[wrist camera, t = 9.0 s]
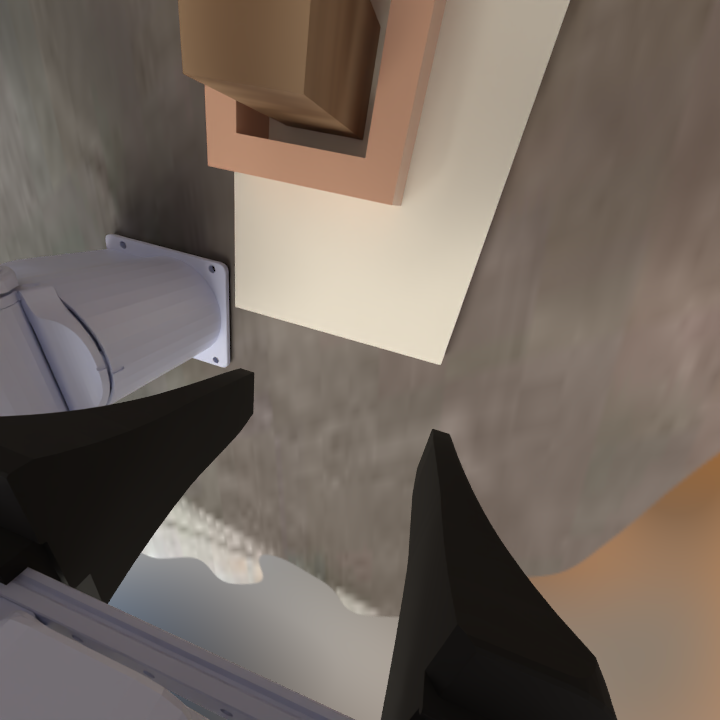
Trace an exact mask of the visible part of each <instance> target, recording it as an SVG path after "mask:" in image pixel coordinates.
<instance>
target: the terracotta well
mask: <svg viewBox="0 0 720 720" xmlns="http://www.w3.org/2000/svg"><path fill="white" fill-rule="evenodd" d="M446 1H447V0H391V4H390V10H389V16H388V22H387V28H386V34H385V41H384V47H383V53H382V59H381V65H380V71H379V78H378V84H377V90H376V96H375V102H374V108H373V114H372V121H371V127H370V133H369V139H368V145H367V151H366V158H361V157H356V156H351V155H346V154H341V153H336V152H331V151H326V150H320V149H315V148H310V147H305V146H300V145H295V144H290V143H285V142H280V141H274V140H269V117H268V116H266V115H264V114H262V113H260V112H258V111H256V110H254V109H252V108H250V107H248V106H246V105H244V104H242V103H240V102H238V101H236V100H234V99H232V98H230V97H228V96H226V95H224V94H222V93H220V92H218V91H216V90H214V89H212V88H210V87H208V86H206V85H205V108H206V132H207V155H208V166H211V167H216V168H220V169H225V170H230V171H234V172H239V173H244V174H248V175H253V176H258V177H262V178H267V179H271V180H276V181H281V182H285V183H290V184H295V185H299V186H304V187H309V188H313V189H318V190H323V191H327V192H332V193H337V194H341V195H346V196H350V197H355V198H360V199H364V200H369V201H374V202H378V203H383V204H388V205H394V206H401V204H402V199H403V195H404V190H405V186H406V181H407V177H408V172H409V168H410V163H411V159H412V154H413V150H414V145H415V141H416V136H417V132H418V127H419V123H420V118H421V114H422V109H423V105H424V100H425V96H426V91H427V87H428V82H429V78H430V73H431V69H432V64H433V60H434V55H435V51H436V46H437V42H438V37H439V33H440V28H441V24H442V19H443V15H444V10H445V6H446Z"/></svg>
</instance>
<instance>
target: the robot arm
mask: <svg viewBox="0 0 720 720" xmlns="http://www.w3.org/2000/svg"><path fill="white" fill-rule="evenodd" d="M125 244H126V245H125ZM106 245H107V249H103V250H95V251H86V252H78V253H70V254H61V255H53V256H44V257H36V258H27V259H19V260H14V261H9V262H6V263H3V264H0V720H209V719H207V718H206V717H204V716H202V715H200V714H199V713H197V712H195V711H194V710H192V709H190V708H188V707H187V706H185V705H184V704H183V703H182V702H181V701H180V700H179V699H178V698H177V697H175V696H174V695H173V694H171V693H170V692H169V691H168V690H170V691H171V692H174V693H175V694H177V695H179V696H182V697H184V698H185V699H187V700H190V701H192V702H194V703H196V704H198V705H200V706H202V707H204V708H206V709H208V710H210V711H212V712H214V713H216V714H218V715H220V716H222V717H224V718H226V719H228V720H355V719H353V718H350V717H348V716H346V715H344V714H342V713H339V712H338V711H335V710H333V709H331V708H329V707H327V706H324V705H323V704H320V703H318V702H316V701H314V700H312V699H310V698H308V697H305V696H303V695H301V694H299V693H297V692H295V691H292V690H290V689H288V688H286V687H284V686H281V685H280V684H277V683H275V682H273V681H271V680H269V679H267V678H265V677H263V676H260V675H258V674H256V673H254V672H252V671H250V670H247V669H245V668H243V667H241V666H239V665H237V664H235V663H233V662H230V661H228V660H226V659H224V658H222V657H220V656H217V655H215V654H213V653H211V652H209V651H207V650H205V649H202V648H200V647H198V646H196V645H194V644H192V643H190V642H187V641H185V640H183V639H181V638H179V637H177V636H175V635H172V634H170V633H168V632H166V631H164V630H162V629H160V628H157V627H155V626H153V625H151V624H149V623H147V622H145V621H142V620H140V619H138V618H136V617H134V616H132V615H130V614H127V613H125V612H123V611H121V610H119V609H117V608H114V607H113V606H110V605H108V602H109V601H110V599H111V598H112V596H113V594H114V593H115V591H116V590H117V588H118V586H119V585H120V584H121V582H122V581H123V579H124V577H125V576H126V574H127V573H128V571H129V570H130V568H131V567H132V565H133V563H134V562H135V561H136V559H137V558H138V556H139V555H140V553H141V552H142V551H143V549H144V548H145V546H146V545H147V543H148V542H149V540H150V539H151V538H152V536H153V535H154V533H155V532H156V530H157V529H158V528H159V526H160V525H161V524H162V522H163V521H164V520H165V518H166V517H167V515H168V514H169V513H170V511H171V510H172V509H173V507H174V506H175V505H176V504H177V502H178V501H179V500H180V498H181V497H182V496H183V495H184V493H185V492H186V491H187V489H188V488H189V487H190V486H191V484H192V483H193V482H194V481H195V480H196V479H197V478H198V476H199V475H200V474H201V473H202V472H203V471H204V470H205V469H206V468H207V467H208V466H209V465H210V464H211V463H212V462H213V460H214V459H215V458H216V457H217V456H218V455H219V454H220V453H221V452H222V451H223V450H224V449H225V448H226V447H227V446H228V445H229V444H230V442H231V441H232V440H233V439H234V438H235V437H236V436H237V435H238V434H239V433H240V431H241V430H242V428H243V427H244V426H245V424H246V423H247V422H248V420H249V419H250V417H251V416H252V414H253V403H254V372H250V371H247V370H244V369H241V368H240V369H236V370H233V371H230V372H226V373H223V374H220V375H217V376H214V377H212V378H209V379H206V380H203V381H200V382H197V383H194V384H191V385H187V386H184V387H181V388H177V389H174V390H171V391H167V392H164V393H160V394H157V395H153V396H149V397H145V398H141V399H136V400H132V401H127V402H122V403H117V404H113V403H115V402H116V401H118V400H120V399H121V398H123V397H125V396H127V395H128V394H130V393H132V392H134V391H135V390H137V389H139V388H141V387H142V386H144V385H146V384H147V383H149V382H151V381H153V380H154V379H156V378H158V377H160V376H161V375H163V374H165V373H167V372H168V371H170V370H172V369H173V368H175V367H177V366H179V365H180V364H182V363H184V362H186V361H187V360H189V359H191V358H195V359H198V360H201V361H204V362H208V363H211V364H214V365H217V366H220V367H226V366H228V365H229V364H230V327H229V271H228V268H227V266H226V265H225V264H224V263H222V262H218V261H215V260H211V259H207V258H203V257H199V256H196V255H192V254H188V253H184V252H180V251H177V250H173V249H169V248H165V247H162V246H158V245H154V244H150V243H146V242H143V241H139V240H135V239H131V238H127V237H124V236H120V235H116V234H108V235H106ZM212 266H214V267H215V271H214V270H213V268H212ZM216 358H218V360H217V359H216ZM381 720H617V718H616V715H615V712H614V708H613V705H612V702H611V699H610V695H609V692H608V689H607V686H606V683H605V680H604V678H603V675H602V673H601V670H600V668H599V665H598V662H597V660H596V657H595V656H594V655H593V654H592V653H591V652H590V650H589V649H588V648H587V647H586V646H585V645H584V644H583V643H582V641H581V640H580V639H579V638H578V637H577V636H576V635H575V634H574V633H573V631H572V630H571V629H570V628H569V627H568V626H567V625H566V624H565V622H564V621H563V620H562V619H561V618H560V617H559V616H558V615H557V614H556V612H555V611H554V610H553V609H552V608H551V606H550V605H549V604H548V603H547V602H546V600H545V599H544V598H543V597H542V595H541V594H540V593H539V592H538V590H537V589H536V588H535V587H534V585H533V584H532V583H531V581H530V580H529V579H528V578H527V576H526V575H525V574H524V572H523V571H522V570H521V568H520V567H519V565H518V564H517V563H516V561H515V560H514V558H513V557H512V556H511V554H510V553H509V551H508V550H507V549H506V547H505V546H504V544H503V543H502V541H501V540H500V538H499V537H498V535H497V533H496V532H495V530H494V529H493V527H492V525H491V524H490V522H489V520H488V518H487V517H486V515H485V513H484V511H483V510H482V508H481V506H480V504H479V502H478V500H477V498H476V496H475V494H474V492H473V490H472V488H471V486H470V484H469V482H468V479H467V477H466V475H465V473H464V470H463V468H462V466H461V463H460V461H459V458H458V456H457V453H456V450H455V448H454V445H453V442H452V439H451V437H450V435H449V434H447V433H444V432H441V431H438V430H435V429H432V431H431V434H430V436H429V439H428V442H427V444H426V447H425V449H424V452H423V455H422V457H421V460H420V462H419V465H418V468H417V472H416V478H415V483H414V489H413V496H412V510H411V525H410V541H409V556H408V565H407V573H406V579H405V586H404V592H403V598H402V605H401V611H400V616H399V622H398V628H397V635H396V640H395V646H394V652H393V657H392V663H391V668H390V674H389V679H388V685H387V690H386V695H385V701H384V706H383V711H382V717H381Z"/></svg>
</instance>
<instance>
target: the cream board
mask: <svg viewBox="0 0 720 720" xmlns="http://www.w3.org/2000/svg"><path fill="white" fill-rule="evenodd" d="M370 1H371V4H372V6H373V9H374V11H375V14H376V16H377V19H378V21H379V24H380V27H381V28H380V35H379V41H378V48H377V54H376V61H375V67H374V73H373V80H372V86H371V93H370V99H369V105H368V112H367V118H366V125H365V131H364V138H363V140H359V139H354V138H349V137H343V136H338V135H333V134H327V133H322V132H317V131H311V130H306V129H301V128H295V127H290V126H286V125H284V124H282V123H280V122H278V121H276V120H274V119H272V118H270V117H269V140H274V141H280V142H285V143H290V144H295V145H300V146H305V147H310V148H315V149H320V150H326V151H331V152H336V153H341V154H346V155H351V156H356V157H361V158H366V151H367V145H368V139H369V133H370V127H371V121H372V114H373V108H374V102H375V96H376V90H377V84H378V78H379V71H380V65H381V59H382V53H383V47H384V41H385V34H386V28H387V22H388V16H389V10H390V4H391V0H370ZM569 2H570V0H447V1H446V6H445V10H444V15H443V19H442V24H441V28H440V33H439V37H438V42H437V46H436V51H435V55H434V60H433V64H432V69H431V73H430V78H429V82H428V87H427V91H426V96H425V100H424V105H423V109H422V114H421V118H420V123H419V127H418V132H417V136H416V141H415V145H414V150H413V154H412V159H411V163H410V168H409V172H408V177H407V181H406V186H405V190H404V195H403V199H402V204H401V206H394V205H388V204H383V203H378V202H374V201H369V200H364V199H360V198H355V197H350V196H346V195H341V194H337V193H332V192H327V191H323V190H318V189H313V188H309V187H304V186H299V185H295V184H290V183H285V182H281V181H276V180H271V179H267V178H262V177H258V176H253V175H248V174H244V173H239V172H234V191H235V307H238V308H242V309H245V310H249V311H252V312H256V313H259V314H263V315H266V316H270V317H273V318H277V319H280V320H284V321H287V322H291V323H294V324H298V325H301V326H305V327H308V328H312V329H315V330H319V331H322V332H326V333H329V334H333V335H337V336H340V337H344V338H347V339H351V340H354V341H358V342H361V343H365V344H368V345H372V346H375V347H379V348H382V349H386V350H389V351H393V352H396V353H400V354H403V355H407V356H410V357H414V358H417V359H421V360H425V361H428V362H432V363H435V364H439V365H441V362H442V360H443V357H444V354H445V351H446V348H447V346H448V343H449V340H450V337H451V334H452V331H453V329H454V326H455V323H456V320H457V317H458V315H459V312H460V309H461V306H462V303H463V301H464V298H465V295H466V292H467V289H468V286H469V284H470V281H471V278H472V275H473V272H474V270H475V267H476V264H477V261H478V258H479V255H480V253H481V250H482V247H483V244H484V241H485V239H486V236H487V233H488V230H489V227H490V224H491V222H492V219H493V216H494V213H495V210H496V208H497V205H498V202H499V199H500V196H501V194H502V191H503V188H504V185H505V182H506V179H507V177H508V174H509V171H510V168H511V165H512V163H513V160H514V157H515V154H516V151H517V148H518V146H519V143H520V140H521V137H522V134H523V132H524V129H525V126H526V123H527V120H528V117H529V115H530V112H531V109H532V106H533V103H534V101H535V98H536V95H537V92H538V89H539V87H540V84H541V81H542V78H543V75H544V72H545V70H546V67H547V64H548V61H549V58H550V56H551V53H552V50H553V47H554V44H555V41H556V39H557V36H558V33H559V30H560V27H561V25H562V22H563V19H564V16H565V13H566V10H567V8H568V5H569Z"/></svg>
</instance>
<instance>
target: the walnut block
mask: <svg viewBox="0 0 720 720" xmlns="http://www.w3.org/2000/svg"><path fill="white" fill-rule="evenodd" d="M178 7H179V22H180V37H181V52H182V67H183V74H184V75H186V76H188V77H190V78H192V79H194V80H196V81H198V82H200V83H202V84H204V85H206V86H208V87H210V88H212V89H214V90H216V91H218V92H220V93H222V94H224V95H226V96H228V97H230V98H232V99H234V100H236V101H238V102H240V103H242V104H244V105H246V106H248V107H250V108H252V109H254V110H256V111H258V112H260V113H262V114H264V115H266V116H268V117H270V118H272V119H274V120H276V121H278V122H280V123H282V124H284V125H286V126H290V127H295V128H301V129H306V130H311V131H317V132H322V133H327V134H333V135H338V136H343V137H349V138H354V139H359V140H363V138H364V131H365V125H366V118H367V112H368V105H369V99H370V93H371V86H372V80H373V73H374V67H375V61H376V54H377V48H378V41H379V35H380V28H381V27H380V24H379V21H378V19H377V16H376V14H375V11H374V9H373V6H372V4H371V1H370V0H178Z"/></svg>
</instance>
